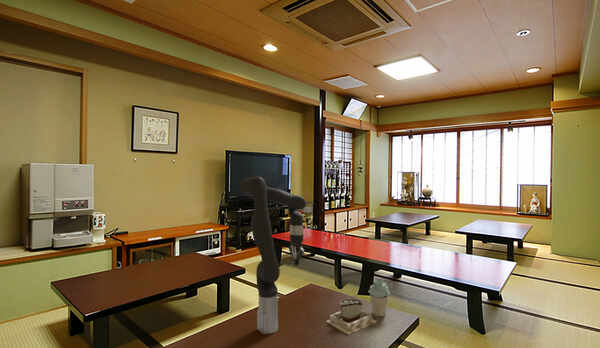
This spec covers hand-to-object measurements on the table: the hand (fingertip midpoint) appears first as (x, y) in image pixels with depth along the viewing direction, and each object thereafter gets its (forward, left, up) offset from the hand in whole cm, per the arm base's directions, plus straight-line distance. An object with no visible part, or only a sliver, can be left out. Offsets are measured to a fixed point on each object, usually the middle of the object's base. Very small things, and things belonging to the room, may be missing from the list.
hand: (296, 264), depth 170 cm
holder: (+16, -25, -26) cm, 40 cm away
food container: (+16, -24, -26) cm, 39 cm away
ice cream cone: (+34, -28, -26) cm, 51 cm away
